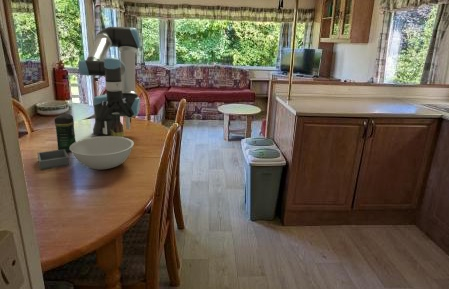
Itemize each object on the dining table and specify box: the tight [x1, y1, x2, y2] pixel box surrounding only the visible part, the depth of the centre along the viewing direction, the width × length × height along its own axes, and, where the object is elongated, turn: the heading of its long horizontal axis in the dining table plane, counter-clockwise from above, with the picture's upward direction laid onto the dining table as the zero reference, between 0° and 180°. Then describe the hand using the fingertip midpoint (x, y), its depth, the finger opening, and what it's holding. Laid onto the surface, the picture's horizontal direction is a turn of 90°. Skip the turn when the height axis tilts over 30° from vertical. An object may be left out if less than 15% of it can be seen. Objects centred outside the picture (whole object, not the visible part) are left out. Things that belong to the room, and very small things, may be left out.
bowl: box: [69, 135, 135, 170], centre depth 143 cm, size 27×27×10 cm
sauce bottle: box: [110, 112, 125, 138], centre depth 162 cm, size 7×6×20 cm
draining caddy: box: [37, 149, 70, 171], centre depth 144 cm, size 12×13×4 cm
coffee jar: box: [54, 113, 77, 153], centre depth 159 cm, size 10×8×19 cm
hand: (117, 131), depth 162 cm, fingers open, 13 cm apart
